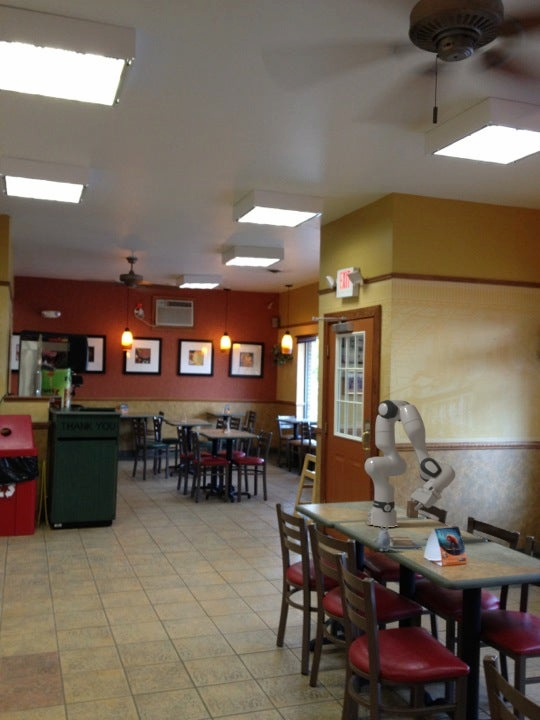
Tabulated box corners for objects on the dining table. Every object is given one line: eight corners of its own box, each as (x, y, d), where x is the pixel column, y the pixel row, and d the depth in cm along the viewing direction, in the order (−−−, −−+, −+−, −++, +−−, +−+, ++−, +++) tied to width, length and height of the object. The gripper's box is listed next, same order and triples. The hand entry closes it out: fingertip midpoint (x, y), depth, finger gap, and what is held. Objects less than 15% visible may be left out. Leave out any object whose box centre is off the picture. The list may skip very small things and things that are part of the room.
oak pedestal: (385, 540, 333) (386, 534, 333) (404, 541, 335) (404, 534, 335) (393, 545, 323) (393, 539, 323) (412, 546, 325) (412, 539, 325)
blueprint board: (379, 541, 337) (379, 538, 337) (409, 541, 340) (409, 539, 340) (390, 548, 321) (390, 546, 321) (421, 549, 324) (421, 546, 324)
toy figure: (375, 552, 312) (376, 527, 313) (370, 549, 318) (371, 524, 319) (396, 552, 314) (397, 527, 315) (391, 549, 320) (392, 524, 321)
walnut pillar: (406, 516, 347) (407, 500, 347) (414, 516, 347) (415, 501, 348) (409, 518, 342) (410, 502, 342) (417, 518, 343) (418, 502, 343)
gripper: (419, 482, 357) (401, 500, 355) (435, 489, 336) (416, 508, 335) (426, 491, 357) (408, 508, 355) (443, 498, 337) (423, 517, 335)
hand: (412, 508), depth 345 cm, fingers closed on walnut pillar, 4 cm apart
